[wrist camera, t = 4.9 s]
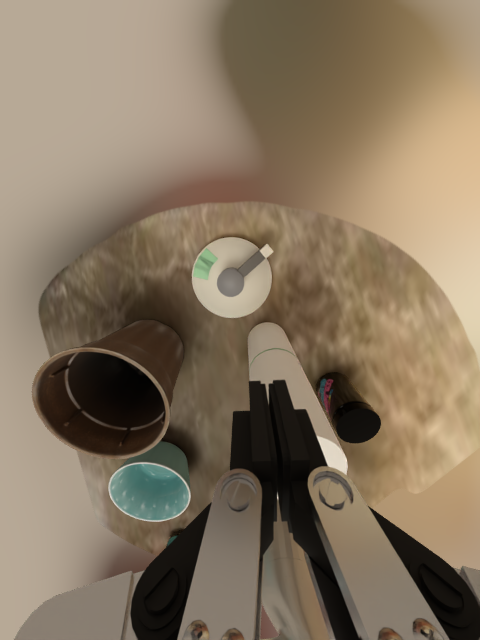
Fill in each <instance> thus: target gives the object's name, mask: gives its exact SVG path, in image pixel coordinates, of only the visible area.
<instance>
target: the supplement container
mask: <svg viewBox="0 0 480 640" xmlns="http://www.w3.org/2000/svg"><path fill="white" fill-rule="evenodd" d="M316 390H317V394H318V396H319V398H320V400H321V402H322V404H323V406H324V408H325V410H326V412H327V414H328V416H329V418H330V420H331V422H332V424H333V427H334V428H335V430H336V432H337V434H338V436H339V437H340V438H341V439H342V440H344V441H346V442H349V443H362V442H365V441H368V440H370V439H371V438H373V437H374V436H375V435H376V434H377V433H378V431H379V429H380V426H381V420H380V418H379V416H378V414H377V413H376V412H375V411H374V409H373V408H372V407H371V406H370V405H369V404H368V402H367V401H366V400H365V399H364V397H363V396H362V395H361V394H360V392H359V391H358V390H357V389H356V387H355V386H354V385H353V384H352V382H351V381H350V380H349V379H348V378H347V377H346V376H345V375H343V374H340V373H329V374H327V375H325V376H323V377H322V378H321V379H320V380H319V382H318V384H317V388H316Z"/></svg>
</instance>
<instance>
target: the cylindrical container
mask: <svg viewBox="0 0 480 640" xmlns="http://www.w3.org/2000/svg"><path fill="white" fill-rule="evenodd" d="M248 357H249V378H250V381H261V384H265V385H266V391H267V398H268V404H269V383H273V380H285V381H286V384H287V387H288V391H289V394H290V397H291V400H292V403H293V407H294V409H306V410H307V412H308V415H309V418H310V420H311V423H312V425H313V428H314V431H315V433H316V436H317V438H318V441H319V444H320V446H321V449H322V452H323V454H324V457H325V459H326V462H327V465H328V467H332V468H336V469H338V470H339V471H341V472H343V473H344V474H345V475H346V474H347V468H348V465H347V459H346V457H345V454H344V452H343V450H342V448H341V446H340V444H339V442H338V440H337V438H336V436H335V434H334V432H333V430H332V428H331V426H330V424H329V422H328V419H327V417H326V415H325V413H324V411H323V409H322V407H321V405H320V403H319V401H318V399H317V397H316V395H315V393H314V391H313V389H312V387H311V385H310V383H309V381H308V379H307V377H306V375H305V373H304V371H303V369H302V366H301V364H300V362H299V360H298V358H297V356H296V354H295V352H294V350H293V348H292V346H291V344H290V342H289V340H288V338H287V336H286V334H285V332H284V330H283V329H282V328H281V327H280V326H279V325H277V324H274V323H270V322H265V323H261V324H258V325H257V326H255V327H254V328H253V329H252V330H251V331H250V333H249V336H248ZM277 499H278V493H277Z"/></svg>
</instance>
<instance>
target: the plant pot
mask: <svg viewBox="0 0 480 640" xmlns="http://www.w3.org/2000/svg"><path fill="white" fill-rule="evenodd" d="M183 358H184V348H183V344H182V341H181V339H180V337H179V336H178V334H177V333H176V332H175V331H174V330H173V329H172V328H171V327H169V326H166V325H164V324H162V323H160V322H159V321H156V320H140V321H136V322H134V323H132V324H130V325H128V326H126V327H124V328H122V329H120V330H118V331H117V332H115V333H113V334H111V335H109V336H107V337H105V338H103V339H101V340H99V341H94V342H90V343H88V344H85V345H83V346H81V347H76V348H72V349H68V350H65V351H63V352H60V353H58V354H56V355H54V356H53V357H51V358H50V359H48V360H47V361H46V362H45V363H44V364H43V365H42V366H41V367H40V369H39V370H38V372H37V374H36V375H35V378H34V381H33V385H32V399H33V403H34V407H35V409H36V412H37V414H38V416H39V417H40V419H41V420H42V422H43V423H44V425H45V426H46V427H47V429H48V430H49V431H50V432H51V433H52V434H53V435H54V436H55V437H56V438H57V439H59V440H60V441H62V442H63V443H65V444H66V445H68V446H69V447H71V448H73V449H75V450H77V451H80V452H82V453H85V454H88V455H91V456H95V457H100V458H107V459H124V458H130V457H134V456H137V455H140V454H143V453H145V452H147V451H148V450H150V449H151V448H153V447H154V446H155V445H156V444H157V443H159V441H160V440H161V439H162V438H163V436H164V435H165V433H166V430H167V428H168V425H169V421H170V406H171V403H172V397H173V389H174V386H175V383H176V380H177V377H178V374H179V370H180V367H181V364H182V361H183Z"/></svg>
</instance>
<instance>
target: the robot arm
mask: <svg viewBox="0 0 480 640" xmlns="http://www.w3.org/2000/svg"><path fill="white" fill-rule="evenodd" d="M249 394H250V411H233V423H232V441H231V460H230V471H228V472H227V473H225V474H224V475H223V476H222V477H221V478H220V480H219V481H218V483H217V485H216V488H215V492H214V496H213V500H212V502H211V503H210V504H209V505H208V506H207V507H206V508H205V509H204V510H203V511H202V512H201V513H200V514H199V515H198V516H197V517H196V518H195V519H194V520H193V521H192V522H191V523H190V524H189V525H188V526H187V527H186V528H185V529H184V530H183V531H182V532H181V533H180V534H179V535H178V536H177V537H176V538H175V539H174V540H173V541H172V542H171V543H170V544H169V545H168V546H167V547H166V548H165V549H164V550H163V551H162V552H161V553H160V554H159V555H158V556H157V557H156V558H155V559H154V560H153V561H152V562H151V563H150V565H149V566H148V567H147V568H146V570H144V571H141V572H138V573H135V574H133V573H132V571H129V572H126V573H123V574H120V575H117V576H114V577H111V578H108V579H105V580H102V581H99V582H96V583H93V584H90V585H86V586H83V587H80V588H77V589H74V590H72V591H69V592H65V593H62V594H59V595H56V596H55V597H53V598H51V599H49V600H47V601H45V602H44V603H43V604H42V605H41V606H39V607H38V608H37V609H36V610H35V611H34V612H33V613H32V614H31V615H30V616H29V618H28V619H27V620H26V622H25V623H24V624H23V625H22V627H21V628H20V630H19V632H18V633H17V635H16V637H15V639H14V640H480V570H476V569H472V568H468V567H465V566H462V568H461V570H460V569H456V568H453V567H451V566H450V565H449V564H448V563H446V562H445V561H444V560H443V559H442V558H440V557H439V556H437V555H436V554H434V553H433V552H432V551H430V550H429V549H428V548H426V547H425V546H423V545H422V544H421V543H419V542H418V541H416V540H415V539H414V538H412V537H411V536H409V535H408V534H407V533H405V532H404V531H402V530H401V529H400V528H398V527H397V526H395V525H394V524H393V523H391V522H390V521H388V520H387V519H386V518H384V517H383V516H381V515H380V514H378V513H377V512H376V511H374V510H373V509H372V508H370V507H369V506H367V504H366V502H365V501H364V499H363V497H362V496H361V494H360V493H359V491H358V489H357V488H356V486H355V484H354V483H353V482H352V481H351V479H350V478H349V477H348V476H347V475H345V474H344V473H343V472H341V471H339V470H338V469H336V468H332V467H328V465H327V462H326V459H325V457H324V454H323V452H322V449H321V446H320V444H319V441H318V438H317V436H316V433H315V431H314V428H313V425H312V423H311V420H310V418H309V415H308V412H307V410H306V409H294V407H293V403H292V400H291V397H290V394H289V391H288V387H287V384H286V381H285V380H273V383H269V404H268V398H267V391H266V385H265V384H261V381H249ZM277 493H278V499H277ZM262 604H263V607H264V609H265V611H266V613H267V615H268V617H269V619H270V620H271V622H272V624H273V625H274V627H275V629H276V630H277V632H278V634H279V636H278V637H275V638H270V639H260V629H261V606H262Z"/></svg>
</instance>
